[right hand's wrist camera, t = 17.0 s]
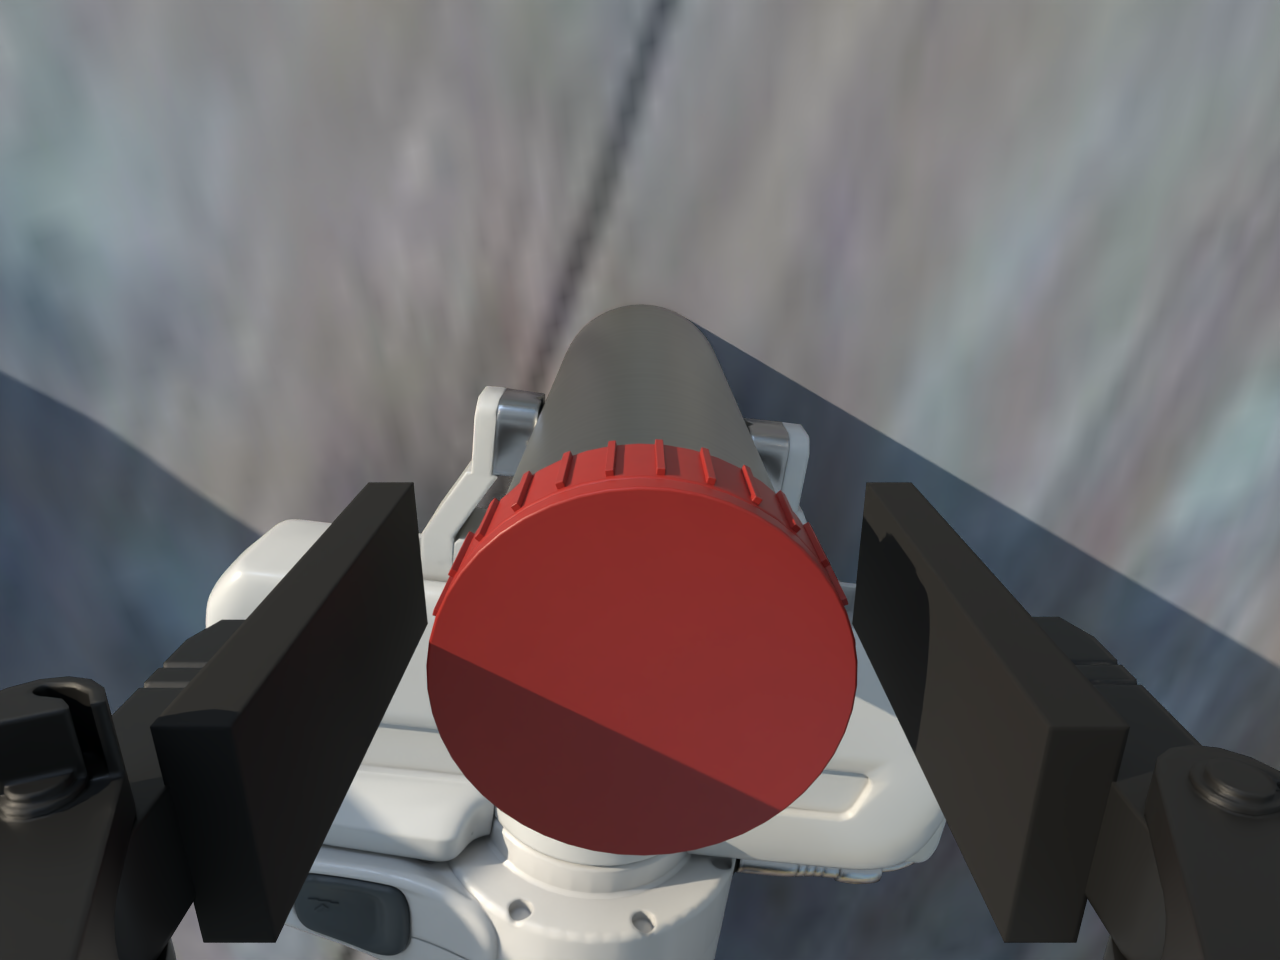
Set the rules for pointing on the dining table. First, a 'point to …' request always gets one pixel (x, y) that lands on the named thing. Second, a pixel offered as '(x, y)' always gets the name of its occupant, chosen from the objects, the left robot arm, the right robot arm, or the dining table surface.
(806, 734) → the lid
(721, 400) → the jar
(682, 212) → the dining table surface
